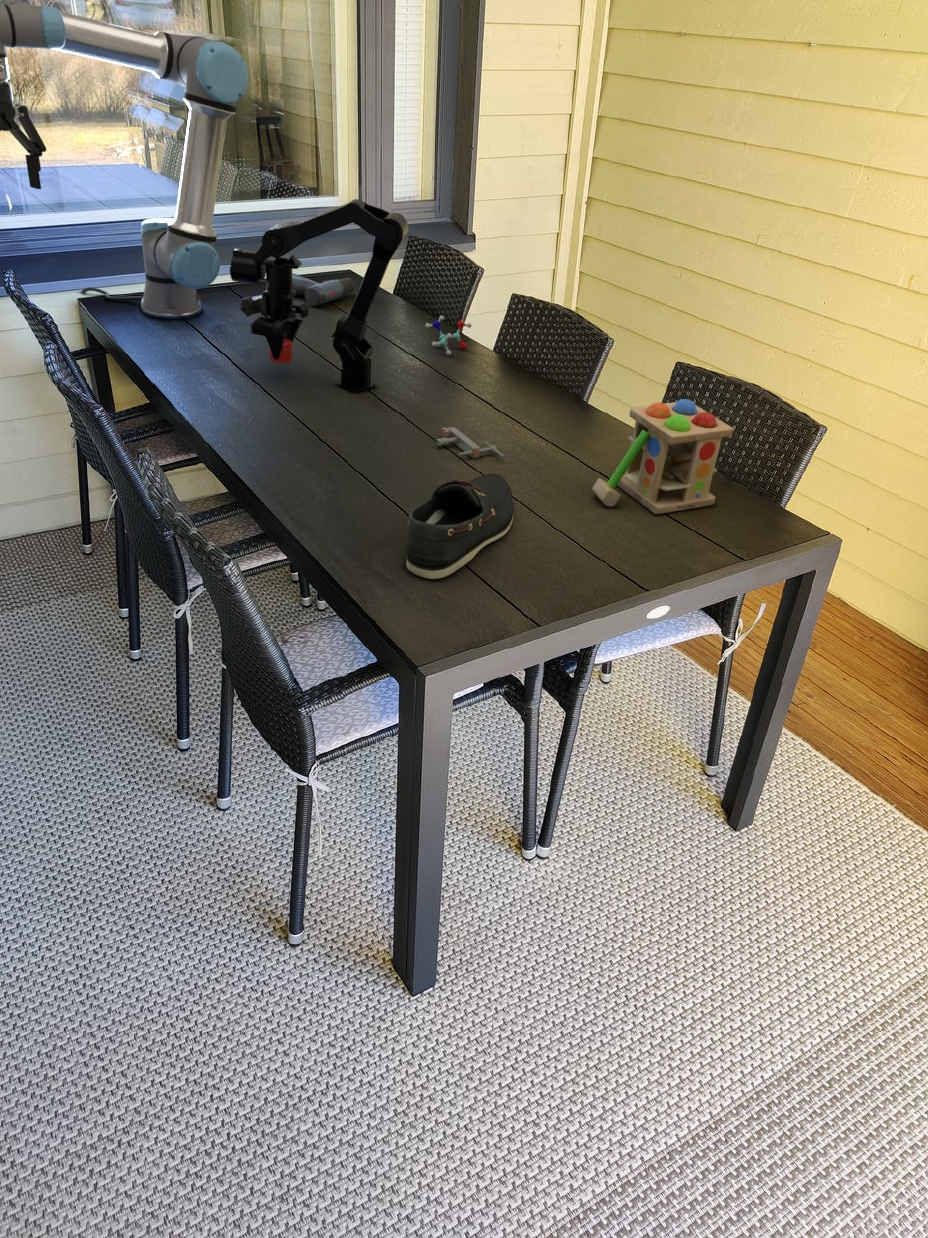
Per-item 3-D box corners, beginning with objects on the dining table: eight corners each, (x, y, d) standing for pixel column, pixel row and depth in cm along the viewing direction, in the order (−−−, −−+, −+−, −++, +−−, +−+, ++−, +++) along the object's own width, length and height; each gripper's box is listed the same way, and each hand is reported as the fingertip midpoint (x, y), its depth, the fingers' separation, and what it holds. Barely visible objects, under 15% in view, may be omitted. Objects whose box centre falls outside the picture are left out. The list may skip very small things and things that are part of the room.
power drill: (307, 279, 292) (360, 295, 284) (264, 292, 279) (319, 308, 271) (307, 261, 289) (361, 276, 281) (263, 272, 276) (319, 289, 268)
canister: (290, 355, 228) (289, 337, 226) (293, 363, 224) (293, 344, 222) (268, 355, 226) (267, 337, 224) (271, 363, 222) (270, 345, 220)
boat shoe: (539, 516, 182) (544, 464, 176) (440, 585, 158) (443, 528, 152) (480, 497, 187) (483, 446, 182) (376, 561, 163) (376, 505, 158)
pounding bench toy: (617, 521, 181) (635, 431, 171) (577, 488, 192) (591, 401, 182) (715, 504, 191) (737, 418, 181) (672, 473, 201) (691, 389, 191)
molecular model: (465, 347, 244) (452, 307, 242) (431, 360, 247) (418, 321, 246) (479, 347, 254) (467, 309, 253) (447, 360, 258) (434, 323, 256)
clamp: (428, 429, 204) (470, 423, 208) (427, 439, 205) (469, 432, 209) (464, 459, 193) (507, 451, 198) (463, 469, 194) (506, 461, 199)
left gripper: (-54, 85, 189) (-32, 202, 201) (54, 80, 207) (68, 187, 219) (-78, 80, 192) (-55, 195, 204) (30, 75, 210) (45, 181, 222)
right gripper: (263, 270, 225) (265, 337, 234) (226, 291, 210) (230, 362, 219) (309, 277, 223) (309, 345, 232) (274, 299, 208) (276, 370, 217)
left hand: (9, 191), depth 211 cm, fingers open, 13 cm apart
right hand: (281, 355), depth 225 cm, fingers closed on canister, 5 cm apart
